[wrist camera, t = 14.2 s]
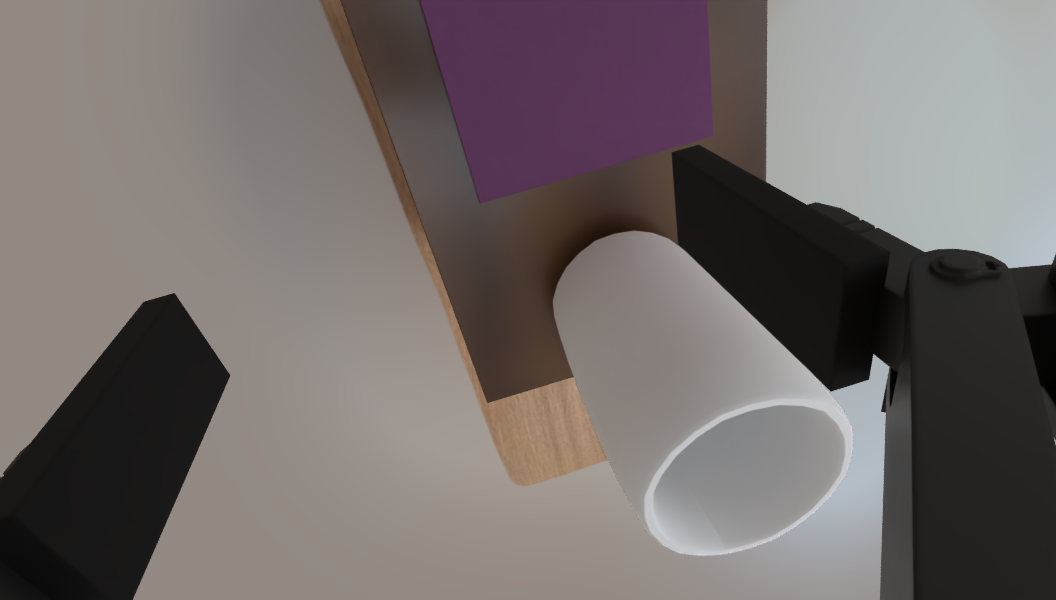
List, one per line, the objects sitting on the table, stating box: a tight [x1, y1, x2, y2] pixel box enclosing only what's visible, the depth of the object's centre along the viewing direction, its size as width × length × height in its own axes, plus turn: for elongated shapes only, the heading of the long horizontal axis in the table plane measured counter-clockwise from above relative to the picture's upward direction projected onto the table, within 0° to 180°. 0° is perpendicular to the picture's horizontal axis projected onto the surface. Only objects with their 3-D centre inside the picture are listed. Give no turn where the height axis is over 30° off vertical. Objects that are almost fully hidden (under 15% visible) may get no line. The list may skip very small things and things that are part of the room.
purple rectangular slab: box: [420, 0, 714, 204], centre depth 24 cm, size 12×9×1 cm
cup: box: [553, 231, 853, 556], centre depth 24 cm, size 8×8×14 cm
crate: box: [340, 0, 767, 403], centre depth 38 cm, size 18×23×26 cm
